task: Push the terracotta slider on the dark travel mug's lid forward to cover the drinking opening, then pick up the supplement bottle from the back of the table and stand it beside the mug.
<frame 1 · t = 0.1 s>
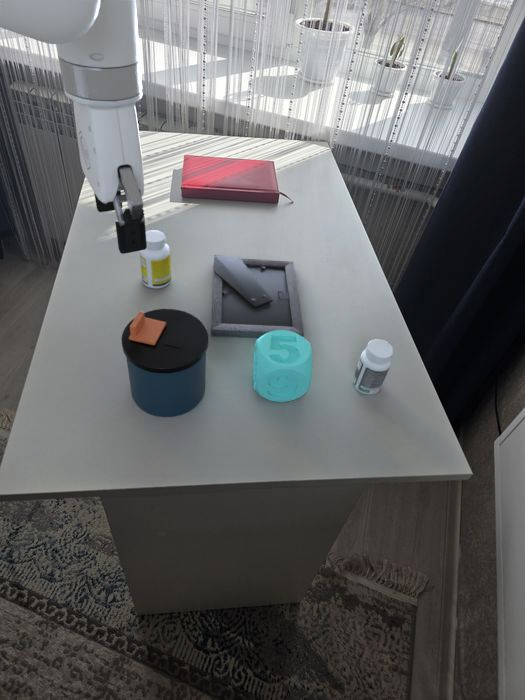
hand: (121, 229, 58), 23 cm above the table, tool pointing down, fingers open, 9 cm apart
supplement bottle: (156, 281, 89), on the table
picture frame: (254, 299, 88), on the table
decorative dice: (277, 383, 75), on the table
travel mug: (168, 387, 71), on the table
pill bottle: (365, 384, 76), on the table
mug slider: (147, 326, 63), point 12 cm above the table, slide at 4.0 cm
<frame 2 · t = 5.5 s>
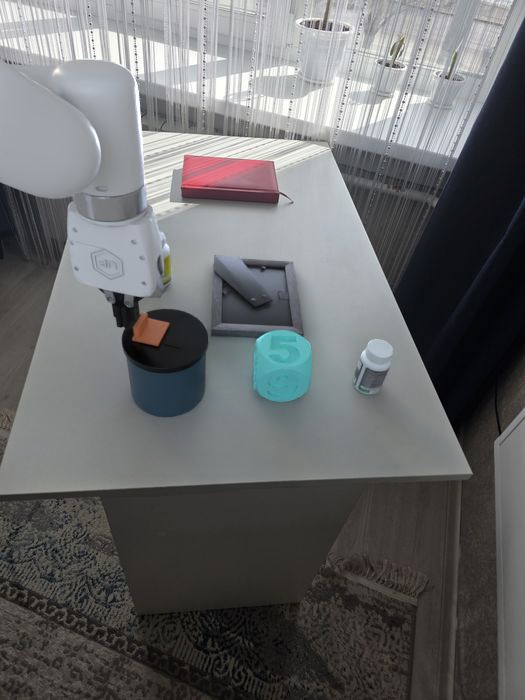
hand: (127, 321, 63), 12 cm above the table, tool pointing down, fingers closed
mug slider: (150, 327, 63), point 12 cm above the table, slide at 3.5 cm, touching gripper
everything else where it was.
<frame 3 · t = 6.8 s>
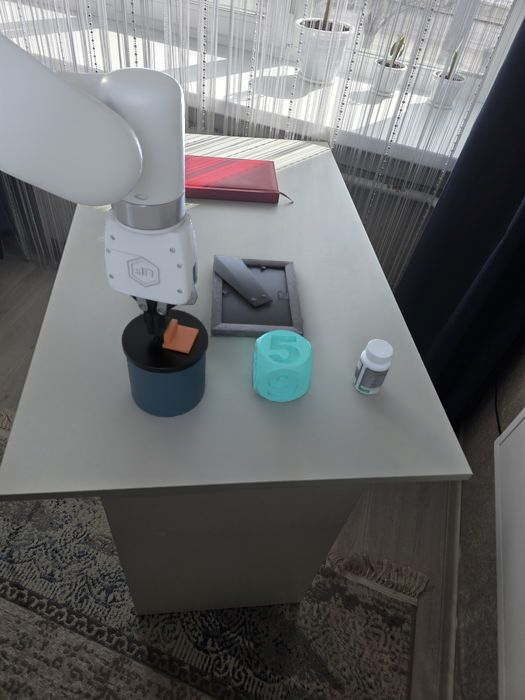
hand: (157, 328, 63), 12 cm above the table, tool pointing down, fingers closed
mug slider: (180, 334, 63), point 12 cm above the table, slide at -0.7 cm, touching gripper
everything else where it was.
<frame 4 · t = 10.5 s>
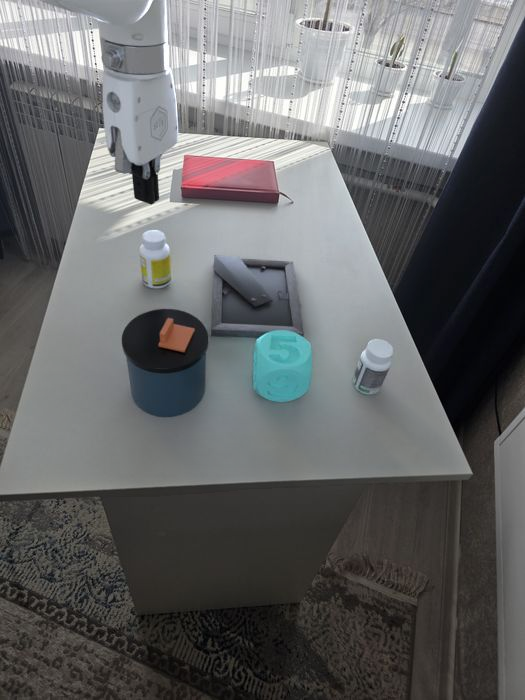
hand: (146, 199, 68), 21 cm above the table, tool pointing down, fingers closed
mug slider: (176, 333, 63), point 12 cm above the table, slide at -0.1 cm
everything else where it was.
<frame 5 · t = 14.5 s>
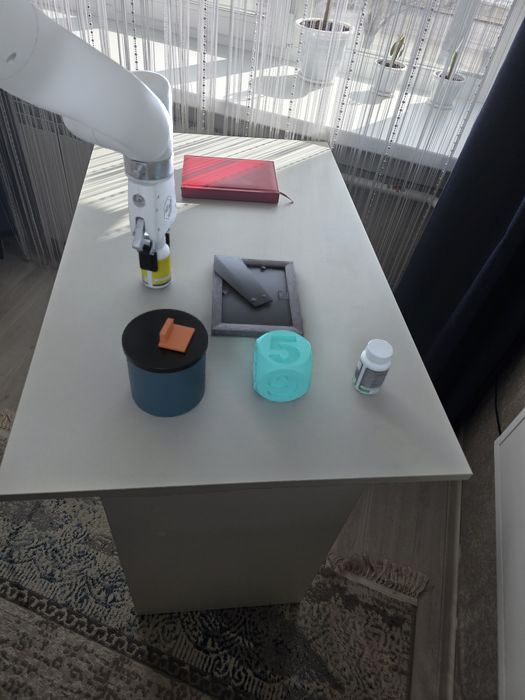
hand: (155, 259, 85), 5 cm above the table, tool pointing down, fingers closed on supplement bottle, 5 cm apart
supplement bottle: (156, 281, 89), on the table, touching gripper
everything else where it was.
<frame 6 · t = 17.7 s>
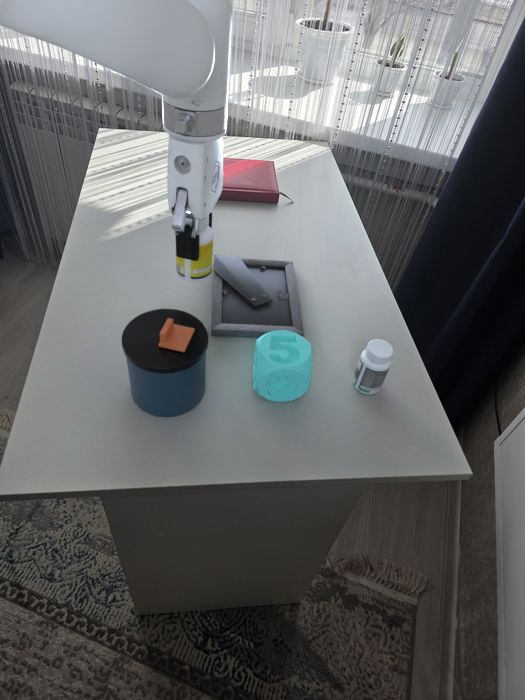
hand: (194, 245, 68), 17 cm above the table, tool pointing down, fingers closed on supplement bottle, 5 cm apart
supplement bottle: (194, 273, 72), point 12 cm above the table, touching gripper
everything else where it was.
when the fingers open (5 cm above the table, at t = 20.9 s): supplement bottle stays where it is, on the table.
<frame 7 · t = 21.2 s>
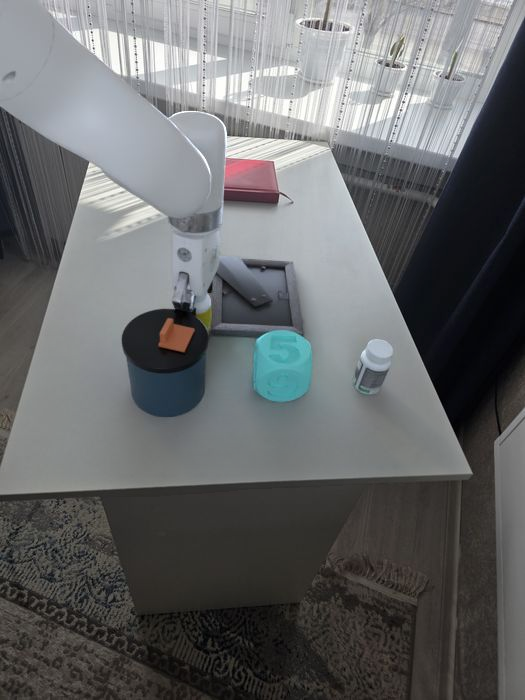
hand: (194, 307, 76), 6 cm above the table, tool pointing down, fingers open, 8 cm apart
supplement bottle: (194, 332, 80), on the table
everything else where it was.
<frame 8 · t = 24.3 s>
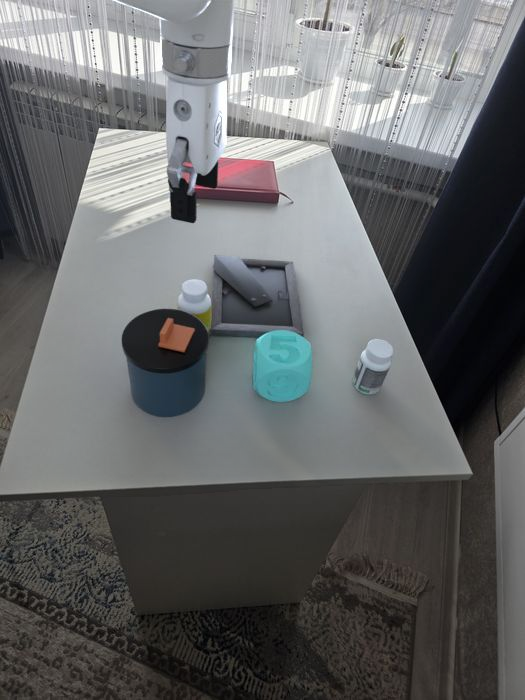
hand: (195, 202, 63), 24 cm above the table, tool pointing down, fingers open, 9 cm apart
nothing on the table moved.
at the end: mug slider slide at -0.1 cm; supplement bottle 0.1 cm from the target spot on the table beside the travel mug, on the table; supplement bottle tilted 0° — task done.
